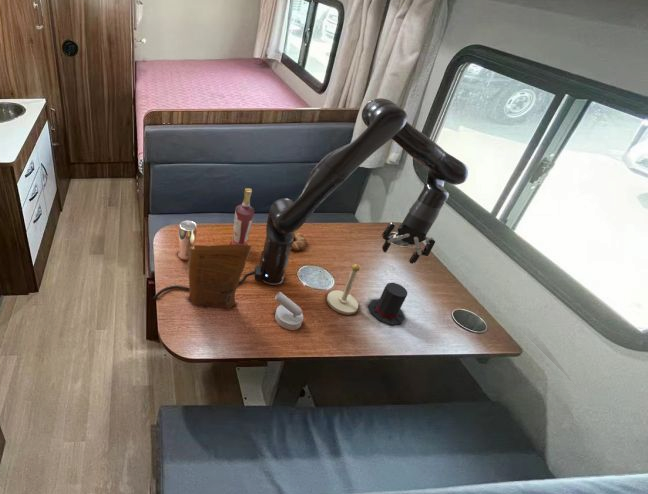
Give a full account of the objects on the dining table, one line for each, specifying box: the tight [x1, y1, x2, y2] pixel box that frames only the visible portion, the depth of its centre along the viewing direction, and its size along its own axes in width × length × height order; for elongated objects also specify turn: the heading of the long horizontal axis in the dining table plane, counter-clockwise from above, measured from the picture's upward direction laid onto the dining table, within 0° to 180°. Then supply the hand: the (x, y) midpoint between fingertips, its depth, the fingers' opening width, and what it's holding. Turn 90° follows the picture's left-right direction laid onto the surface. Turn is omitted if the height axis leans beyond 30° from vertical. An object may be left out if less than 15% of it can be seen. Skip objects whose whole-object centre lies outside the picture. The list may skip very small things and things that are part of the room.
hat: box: [367, 282, 408, 326], centre depth 132 cm, size 11×11×11 cm
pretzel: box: [291, 230, 308, 252], centre depth 164 cm, size 12×11×4 cm
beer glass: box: [177, 220, 198, 261], centre depth 154 cm, size 7×7×15 cm
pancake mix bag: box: [187, 244, 252, 309], centre depth 130 cm, size 7×19×28 cm, turn 83°
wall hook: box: [274, 291, 304, 331], centre depth 129 cm, size 9×10×10 cm
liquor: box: [230, 187, 256, 245], centre depth 156 cm, size 7×7×28 cm
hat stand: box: [326, 263, 361, 316], centre depth 133 cm, size 10×10×18 cm
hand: (397, 256), depth 134 cm, fingers open, 8 cm apart
